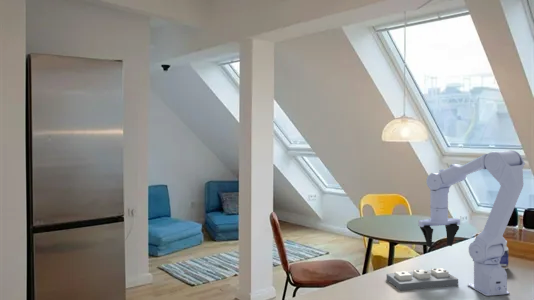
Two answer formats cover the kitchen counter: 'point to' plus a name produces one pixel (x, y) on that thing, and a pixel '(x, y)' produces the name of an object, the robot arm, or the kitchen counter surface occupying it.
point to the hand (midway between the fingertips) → (439, 245)
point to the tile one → (403, 275)
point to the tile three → (439, 272)
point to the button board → (422, 282)
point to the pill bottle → (505, 258)
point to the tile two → (421, 274)
